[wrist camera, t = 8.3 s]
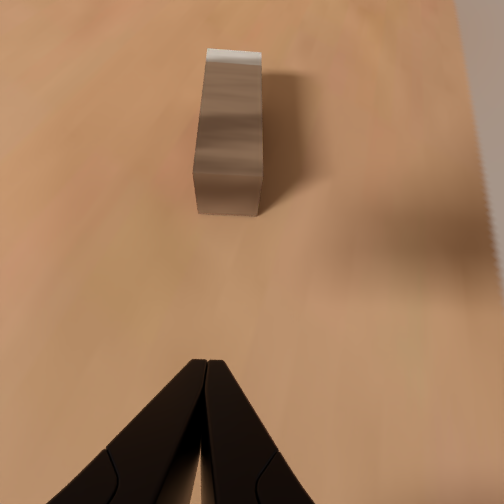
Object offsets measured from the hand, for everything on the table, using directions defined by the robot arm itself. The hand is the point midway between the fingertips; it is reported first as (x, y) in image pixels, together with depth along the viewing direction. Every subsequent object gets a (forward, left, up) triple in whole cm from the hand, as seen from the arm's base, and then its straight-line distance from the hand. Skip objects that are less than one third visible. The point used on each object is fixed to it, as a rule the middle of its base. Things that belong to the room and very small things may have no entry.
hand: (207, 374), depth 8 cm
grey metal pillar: (+11, -9, -11) cm, 18 cm away
